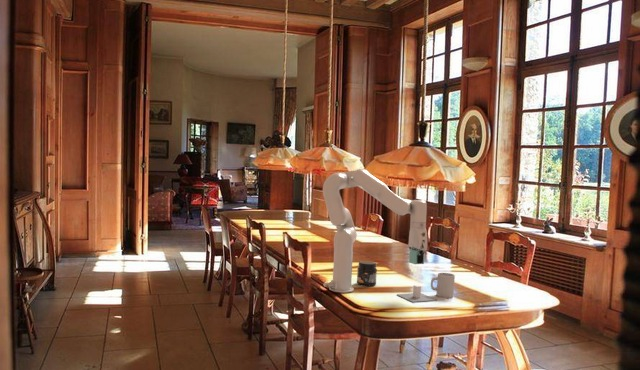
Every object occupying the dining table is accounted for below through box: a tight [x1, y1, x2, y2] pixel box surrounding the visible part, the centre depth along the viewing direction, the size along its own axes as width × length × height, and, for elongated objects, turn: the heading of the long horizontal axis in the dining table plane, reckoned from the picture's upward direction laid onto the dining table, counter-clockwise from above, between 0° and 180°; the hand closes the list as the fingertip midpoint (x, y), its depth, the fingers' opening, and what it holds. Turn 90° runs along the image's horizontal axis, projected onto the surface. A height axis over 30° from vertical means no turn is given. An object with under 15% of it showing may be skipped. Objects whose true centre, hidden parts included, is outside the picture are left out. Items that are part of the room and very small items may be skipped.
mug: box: [430, 272, 456, 299], centre depth 272 cm, size 12×8×11 cm
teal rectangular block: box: [408, 249, 425, 265], centre depth 263 cm, size 5×5×7 cm
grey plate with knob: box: [396, 284, 438, 304], centre depth 264 cm, size 14×14×6 cm
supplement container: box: [356, 260, 378, 288], centre depth 288 cm, size 10×10×12 cm
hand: (416, 261), depth 263 cm, fingers closed on teal rectangular block, 5 cm apart
